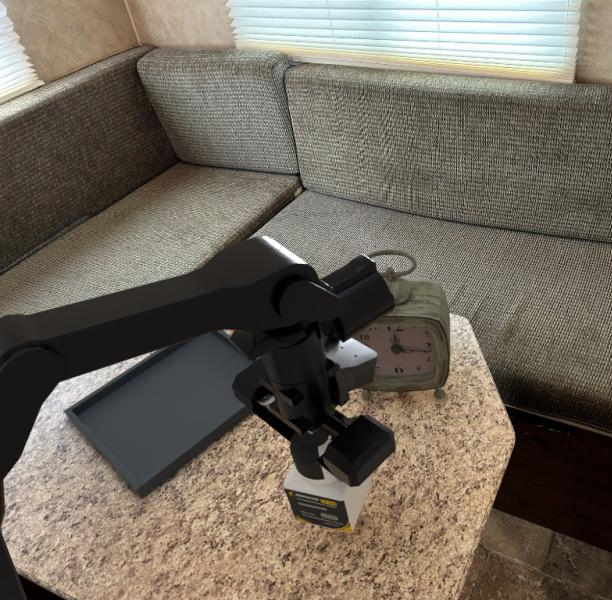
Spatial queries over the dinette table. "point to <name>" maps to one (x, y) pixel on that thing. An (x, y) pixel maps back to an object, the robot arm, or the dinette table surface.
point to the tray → (164, 409)
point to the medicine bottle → (321, 487)
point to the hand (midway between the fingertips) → (323, 462)
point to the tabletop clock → (410, 335)
